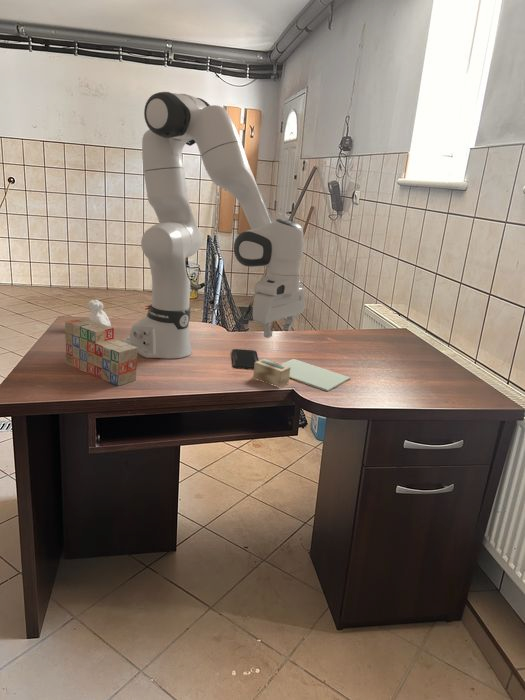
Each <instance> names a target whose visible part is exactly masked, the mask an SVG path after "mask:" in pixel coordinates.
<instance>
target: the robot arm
mask: <svg viewBox="0 0 525 700" xmlns="http://www.w3.org/2000/svg"><path fill="white" fill-rule="evenodd" d="M143 114H144V115H143V116H144V120H145V123H146V125H147V127H148V129H147V130H146V131H145V133H144V134H143V135H142V139H141V154H142V155H141V157H142V158H141V159H142V167H143V168H142V169H143V176H144V182H145V189H146V196H147V197H146V198H147V200H148V203H149V205H150V206H151V207H152V208H153V210H154V212H155V215H156V217H157V220H158V222H157V223H156V224H154V225H152V226H151V227H149V228H147V230H145V231H144V233H143V235H142V236H141V241H140V247H141V250H142V253H143V254H144V256H145V257H146V258H147V261H148V264H149V268H150V273H151V285H152V286H151V288H152V289H151V304H149V305H144V307H145V308H144V310H145V311H146V310H147V314H146V315H145V316H144V317H142V318H141V319H140V320H138V321H136V322H135V323H133V324H132V325H131V327H130V332H129V336H128V337H125V338H123V339H122V341H121V342H124V343H127V344H129V345H132V346H135V347H137V354H139V355H140V356H142V357H144V358H147V359H150V358H151V359H152V358H158V359H159V358H160V359H180V358H185V357H189V356H190V355H191V354H192V352H193V351H192V346H191V345H192V344H191V339H190V338H191V337H190V319H191V307H190V299H191V298H190V297H191V280H190V279H189V277H188V274H187V268H186V258H191V257H192V256H193V255H194V254H195V253H197V251H199V249H200V248H201V247H202V244H203V241H204V239H203V234H202V231H201V228H199V227H198V225H197V223H196V219H195V216H194V214H193V210H192V208H191V205H190V200H189V197H188V190H187V184H186V183H187V182H186V176H185V167H184V160H183V149H184V147H185V145H187V146H193V145H195V144H196V146H197V148H198V151H199V154H200V157H201V161H202V164H203V166H204V169H205V171H206V173H207V174H208V177H209V178H210V180H211V181H212V182H213V183H214V184H215V185H216V186H218V187H219V188H221V189H223V190H224V191H226V192H227V193H229V194H231V195H232V196H233V197H234V198H235V199H236V201H237V202H239V204H240V206H241V209H242V210H243V213H244V215H245V219H246V220H247V222H248V224H249V227H250V229H248V230H245V231H243V232H240V233H239V234H238V235H237V236H236V238H235V240H234V242H233V254H234V257H235V258H236V260H237V261H238V263H240V264H241V265H242V266H245V267H249V268H256V267H265V268H266V275H264V276H263V277H262V278H261V279H260V280H259V281H257V282H255V283H254V286H253V287H254V289H253V290H254V292H255V294H254V296H253V297H254V298H253V303H252V304H253V305H252V318H253V321H254V322H255V323H258V324H261V327H262V329H263V337H264V338H266V339H270V338H273V330H271V326H272V322H276V321H279V320H283V319H286V320H285V323H284V324H283V328H282V330H283V331H284V332H290V331H291V330H292V326H293V323H294V321H295V319H296V316H297V315H300V314H302V313H303V312H304V310H305V298H306V297H305V296H306V295H305V289H304V283H303V282H302V281H301V273H302V271H301V262H302V260H303V256H304V242H305V241H304V240H305V239H304V229H303V227H302V226H301V225H300V224H299V223H297V222H295V221H292V220H290V219H289V220H288V219H284V218H276V219H274V220H273V219H272V216H271V213H270V211H269V209H268V207H267V204H266V202H265V200H264V197H263V194H262V192H261V190H260V188H259V185H258V184H257V181H256V179H255V176H254V174H253V171H252V169H251V166H250V163H249V161H248V158H247V154H246V152H245V148H244V147H243V143H242V141H241V138H240V135H239V132H238V130H237V128H236V126H235V123H234V122H233V119H232V118H231V116H230V114H229V112H228V111H227V109H226V108H224V107H223V106H220V105H211V104H209V102H207V100H204V99H202V98H200V97H196V96H193V95H190V94H185V93H175V92H174V93H172V92H169V91H160V92H156V93H154V94H152V95H150V97H149V98H148V99H147V101H146V102H145V106H144V112H143Z"/></svg>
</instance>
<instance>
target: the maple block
mask: <svg viewBox="0 0 525 700" xmlns="http://www.w3.org/2000/svg"><path fill="white" fill-rule="evenodd" d="M258 360H259V359H258ZM281 364H282V363H278V362H276V361H272V360H269V359H267V358H262V359H260V360H259V361H257V362H255V365H254V369H253V374H252V375H253V377H252V378H253V379H254V378H255V379H254V380H256V379H258V380H257V381H259V380H262V381H264V382H263V383H265V382H267V383H270V384H273V385H276V386H278V387H281V386H283V385H285V384H287V383H288V384H289V381H290V378H289V376H290V367H287V366H284V365H281ZM262 381H261V382H262ZM267 383H266V384H267ZM270 384H269V385H270ZM288 384H287V385H288ZM273 385H272V386H273ZM276 386H275V387H276ZM285 386H286V385H285ZM278 387H277V388H278ZM283 387H284V386H283ZM281 388H282V387H281Z"/></svg>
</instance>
